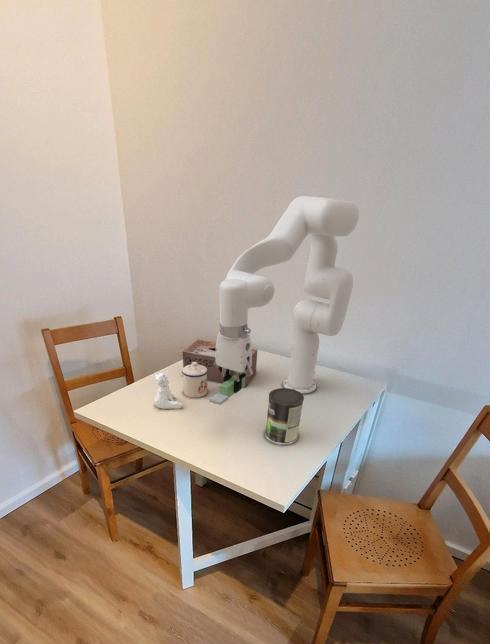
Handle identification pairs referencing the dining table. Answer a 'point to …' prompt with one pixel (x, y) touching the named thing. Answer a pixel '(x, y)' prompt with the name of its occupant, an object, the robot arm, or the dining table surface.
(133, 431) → the dining table surface
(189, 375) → the teacup with lid
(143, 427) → the dining table surface
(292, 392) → the coffee can
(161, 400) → the sitting furry creature
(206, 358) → the tissue box cover
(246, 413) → the dining table surface
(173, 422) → the dining table surface
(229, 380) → the green bar grey end
